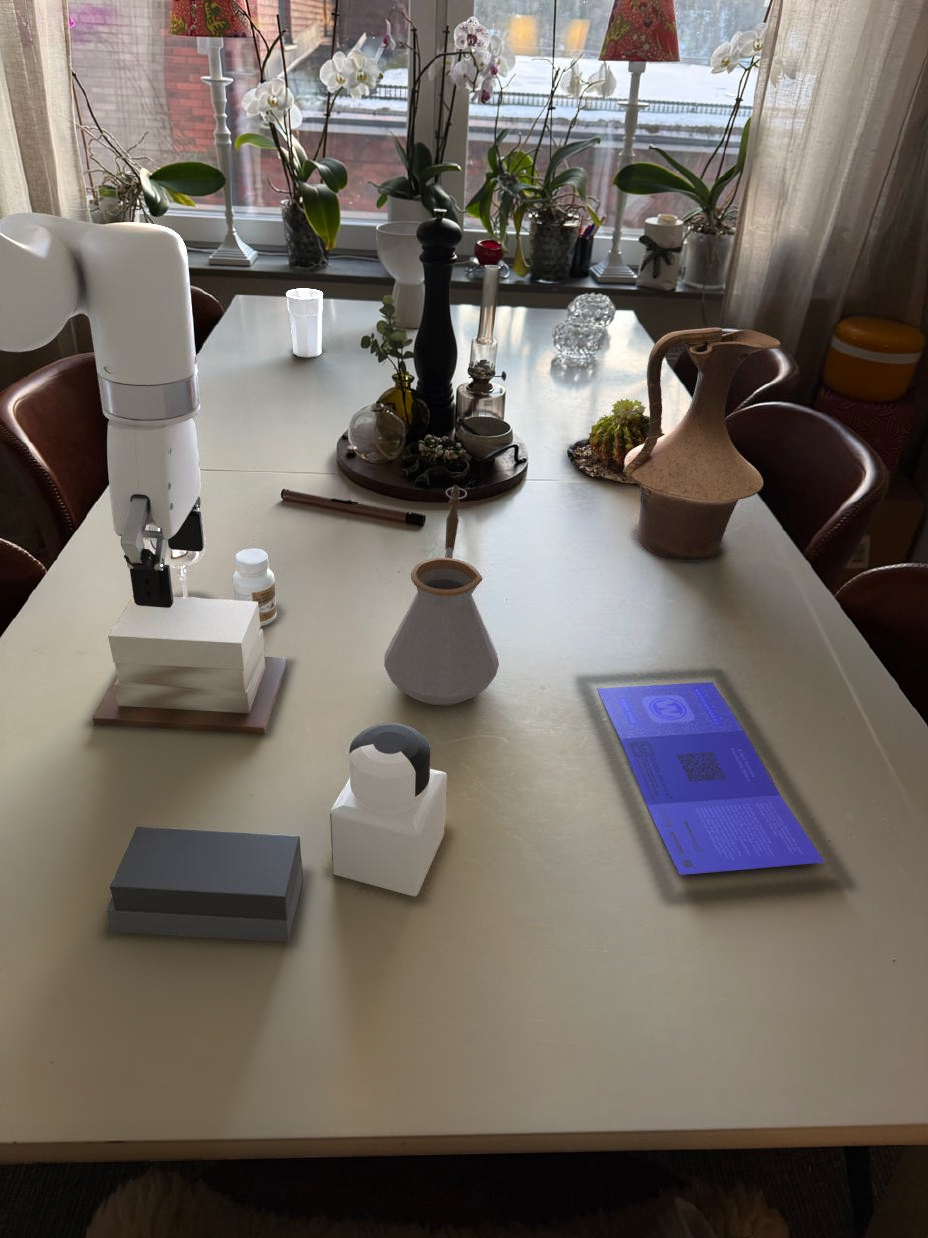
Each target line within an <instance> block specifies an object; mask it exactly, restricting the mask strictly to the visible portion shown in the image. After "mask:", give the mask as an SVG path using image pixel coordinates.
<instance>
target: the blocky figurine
mask: <svg viewBox="0 0 928 1238" xmlns="http://www.w3.org/2000/svg"><path fill="white" fill-rule="evenodd" d="M348 750H349V751H348V753H349V779H348V780H347V782H346V784H345V785H344V787H343V788H342V790H341V791H340V794H339V795H338V797H337V799H336V800H335V802H334V803H333V805H332V807H331V809H330V812H329V818H330V839H331V840H330V841H331V859H332V873H333V875H335V876H338V877H341V878H344V879H348V880H352V881H355V882H359V883H363V884H368V885H369V886H373V887H377V888H381V889H385V890H388V891H392V892H396V893H399V894H403V895H407V896H411V897H417V896H418V895H419V893H420V891H421V889H422V886H423V884H424V882H425V879H426V877H427V875H428V873H429V870H430V868H431V865H432V863H433V861H434V858H435V857H436V854H437V852H438V849H439V847H440V845H441V842H442V840H443V838H444V836H445V823H446V822H445V821H446V802H447V801H446V799H447V784H448V783H447V782H448V781H447V779H448V776H447V773H446V772H444V771H442V770H438V769H437V770H436V769H432V768H431V757H432V756H431V753H432V751H431V750H432V749H431V745H430V743H429V740H428V739H427V738H426V737H425V735H424V734H422V733H421V732H420V731H419V730H417V729H415V727H412V726H409V725H407V724H403V723H398V722H384V723H378V724H374V725H371V726H369V727H367V728H365V729H363V730H362V731H361V732H359V734H357V735H356V736H355V737H354V739H353V740H352V742H351V743H350V746H349V749H348Z"/></svg>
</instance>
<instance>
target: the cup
mask: <svg viewBox="0 0 928 1238" xmlns="http://www.w3.org/2000/svg"><path fill="white" fill-rule="evenodd" d="M285 295H286V304H287V311H288V314H289V325H290V333H291V340H292V341H291V343H292V352H293V354H294V355H296V356H297V357H301V358H314V357H319V356H320V355H321V354H322V323H323V310H324V307H323V305H324V304H323V301H324V300H323V299H324V298H323V297H324V296H323V295H324V293H323V292H322V291H320V290H317V289H311V288H296V289H291V290H288V291H287V292H286V293H285Z"/></svg>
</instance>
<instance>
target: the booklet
mask: <svg viewBox="0 0 928 1238" xmlns="http://www.w3.org/2000/svg"><path fill="white" fill-rule="evenodd" d="M596 690H597V692H598V694H599V697H600V699H601V701H602V703H603V706H604V707H605V710H606V712H607V715H608V716H609V719H610V720H611V722H612V724H613V727H614V730H615V731H616V734H617V736H618V738H619V740H620V742H621V745H622V748H623V750H624V753H625V755H626V757H627V760H628V762H629V765H630V767H631V770H632V773H633V775H634V777H635V780H636V782H637V783H636V784H637V786H638V788H639V790H640V793H641V795H642V798H643V800H644V802H645V803H644V804H645V805H646V807H647V809H648V812H649V814H650V816H651V818H652V821H653V822H654V825H655V826H656V828H657V830H658V832H659V834H660V837H661V840H662V841H663V843H664V845H665V847H666V849H667V852H668V854H669V857H670V858H671V860H672V862H673V864H674V866H675V869H676V871H677V873H678V875H679V876H684V875H695V874H696V875H697V874H708V873H709V874H710V873H716V872H717V873H721V872H731V871H742V870H743V871H744V870H755V869H766V868H776V867H787V866H788V867H789V866H799V865H800V866H801V865H812V864H822V863H823V864H824V863H825V860H824V858H823V857H822V856H821V854H820V852H819V851H818V850H817V848H816V846H815V845H814V844H813V842H812V840H811V839H810V837H809V836H808V835H807V833H806V831H805V830H804V828H803V827H802V825H801V824H800V822H799V821H798V820H797V818H796V817H795V815H794V814H793V812H792V811H791V809H790V808H789V806H788V805H787V803H786V801H785V800H784V798H783V797H782V796H781V794H780V792H779V791H778V789H777V787H776V785H775V783H774V782H773V780H772V778H771V776H770V774H769V773H768V771H767V769H766V767H765V765H764V763H763V762H762V760H761V758H760V756H759V754H758V753H757V751H756V748H755V747H754V745H753V744H752V742H751V740H750V738H749V737H748V735H747V734H746V731H745V730H744V729H743V727H742V725H741V724H740V722H739V720H738V719H737V717H736V716H735V714H734V713H733V711H732V710H731V708H730V707H729V705H728V703H727V702H726V701H725V699H724V698H723V696H722V694H721V692H720V691H719V690H718V688H717V687H716V685H715V683H714V682H713V681H711V682H710V681H709V682H691V683H688V682H687V683H673V684H654V685H637V686H618V687H617V686H616V687H602V688H601V687H600V688H596Z"/></svg>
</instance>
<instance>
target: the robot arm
mask: <svg viewBox="0 0 928 1238" xmlns="http://www.w3.org/2000/svg"><path fill="white" fill-rule="evenodd" d="M189 269H190V268H189V259H188V253H187V248H186V245H185V243H184V241H183V239H182V238H181V236H180V235H179V234H178V233H177V232H175V231H174V230H172V229H171V228H168V227H165V226H162V225H158V224H153V223H147V222H146V223H145V222H112V223H105V224H101V223H94V222H88V221H83V220H77V219H72V218H68V217H62V216H57V215H53V214H48V213H41V212H31V211H29V212H28V211H27V212H16V213H12V214H8V215H6V216H4V217H2V218H0V351H4V352H9V353H11V352H12V353H23V352H24V353H25V352H31V351H35V350H38V349H39V348H43V347H44V346H46V345H48V344H49V343H51V342H52V341H53V340H55V338H56V337H57V336H58V335H59V334H60V332H62V330H63V328H65V325H66V324H67V322H68V321H69V319H71V318H73V317H75V316H77V315H79V314H80V315H81V314H82V315H85V316H86V317H87V318H88V321H89V326H90V333H91V337H92V338H91V339H92V345H93V352H94V353H93V354H94V360H95V366H96V373H97V380H98V381H97V382H98V387H99V394H100V402H101V408H102V414H103V416H105V418H107V419H108V422H107V432H106V433H107V434H106V435H107V437H106V451H107V452H106V455H107V473H108V485H109V497H110V506H111V517H112V524H113V530H114V532H115V534H116V535H117V536H118V537H120V546H121V549H122V551H123V552H124V554H123V558H124V559H125V562H126V567H127V569H129V575H130V576H129V577H130V582H131V590H132V596H133V597H134V602H135V604H136V605H139V606H150V607H162V608H170V607H171V606H172V604H173V602H174V601H173V597H174V594H173V584H172V576H171V567H170V566H169V565H165V557H166V548H167V540H168V546H169V548H170V549H172V550H184V551H196V552H200V551H202V549H203V547H204V541H203V530H202V524H203V521H202V519H203V518H202V511H200V509H201V504H202V503H201V502H202V501H201V497H200V493H201V481H202V480H201V465H200V453H199V446H198V445H199V444H198V437H197V431H196V424H195V417H196V416H197V415H198V414H199V413H200V412H201V400H200V389H199V377H198V365H197V355H196V354H197V353H196V344H195V331H194V330H195V329H194V316H193V306H192V293H191V282H190V271H189ZM195 510H197V511H195ZM149 525H157V527H158V528H160V531H150V530H149V529H146V528H147V526H149ZM144 540H148V541H149V540H157V542H156V550H155V554H154V553H153V552H152V551H151V549H149V548H145V542H144Z"/></svg>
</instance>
